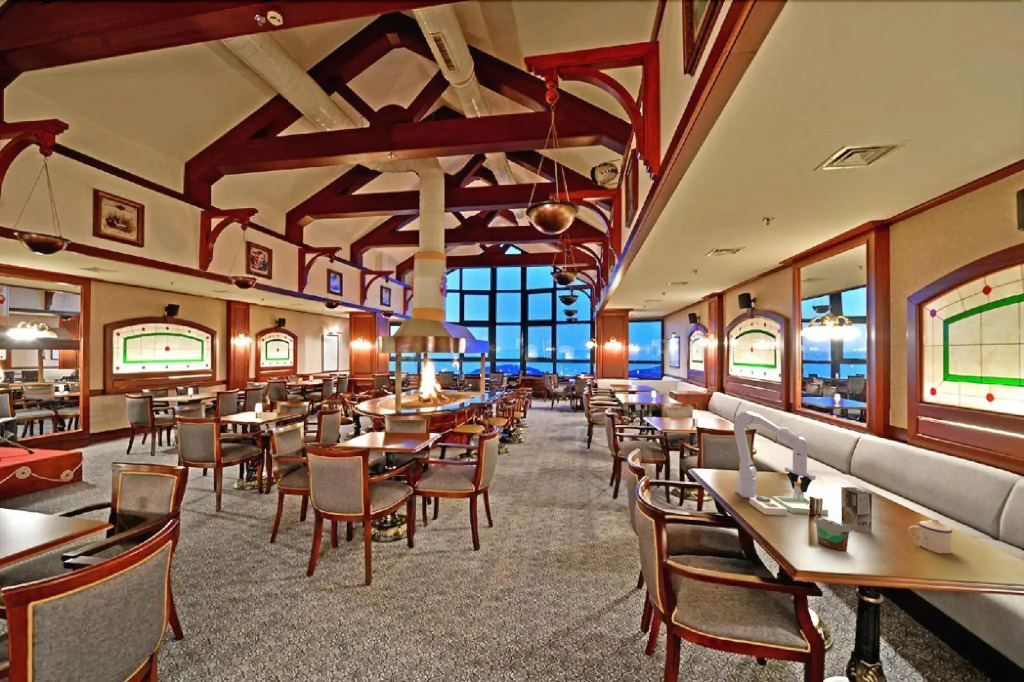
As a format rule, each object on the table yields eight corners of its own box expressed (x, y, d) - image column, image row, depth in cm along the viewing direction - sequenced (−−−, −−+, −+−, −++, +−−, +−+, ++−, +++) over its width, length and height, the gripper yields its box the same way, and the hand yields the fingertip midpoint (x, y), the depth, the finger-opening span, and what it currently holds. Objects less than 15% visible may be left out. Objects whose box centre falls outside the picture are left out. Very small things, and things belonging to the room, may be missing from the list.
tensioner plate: (749, 503, 206) (749, 495, 206) (770, 504, 205) (770, 496, 205) (765, 514, 192) (765, 505, 192) (787, 515, 191) (787, 506, 191)
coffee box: (872, 532, 175) (872, 494, 176) (857, 531, 175) (857, 493, 176) (855, 523, 184) (855, 486, 185) (840, 522, 184) (840, 486, 185)
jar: (790, 498, 203) (791, 480, 203) (797, 498, 204) (798, 480, 204) (799, 501, 198) (800, 483, 199) (806, 501, 199) (807, 483, 200)
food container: (806, 541, 165) (806, 515, 165) (816, 538, 167) (816, 513, 167) (840, 555, 153) (841, 528, 154) (851, 553, 156) (851, 526, 156)
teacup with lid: (950, 549, 161) (950, 519, 162) (953, 557, 155) (953, 526, 155) (908, 539, 169) (908, 510, 170) (908, 546, 163) (909, 516, 163)
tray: (772, 501, 210) (772, 496, 210) (805, 502, 209) (805, 497, 209) (792, 513, 194) (792, 508, 194) (827, 515, 193) (827, 509, 193)
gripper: (780, 458, 208) (779, 485, 207) (807, 466, 194) (807, 495, 193) (791, 458, 210) (790, 485, 209) (819, 466, 196) (818, 494, 195)
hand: (799, 490), depth 202 cm, fingers closed on jar, 4 cm apart
